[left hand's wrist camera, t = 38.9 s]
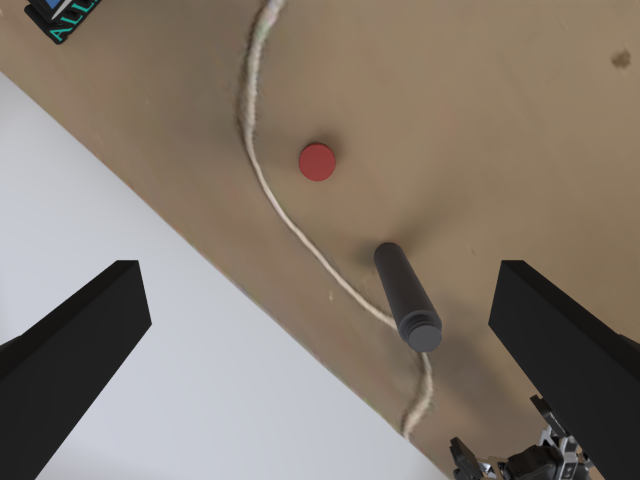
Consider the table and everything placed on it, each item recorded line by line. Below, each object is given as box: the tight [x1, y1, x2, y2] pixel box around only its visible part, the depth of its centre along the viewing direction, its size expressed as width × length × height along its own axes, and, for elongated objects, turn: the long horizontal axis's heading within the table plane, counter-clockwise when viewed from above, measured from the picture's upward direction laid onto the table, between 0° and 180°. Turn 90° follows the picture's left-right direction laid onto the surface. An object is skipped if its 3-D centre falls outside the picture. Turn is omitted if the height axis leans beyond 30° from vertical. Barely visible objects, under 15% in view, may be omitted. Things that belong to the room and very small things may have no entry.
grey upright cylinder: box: [374, 243, 442, 352], centre depth 40 cm, size 4×4×18 cm
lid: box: [299, 143, 335, 181], centre depth 42 cm, size 4×4×2 cm
